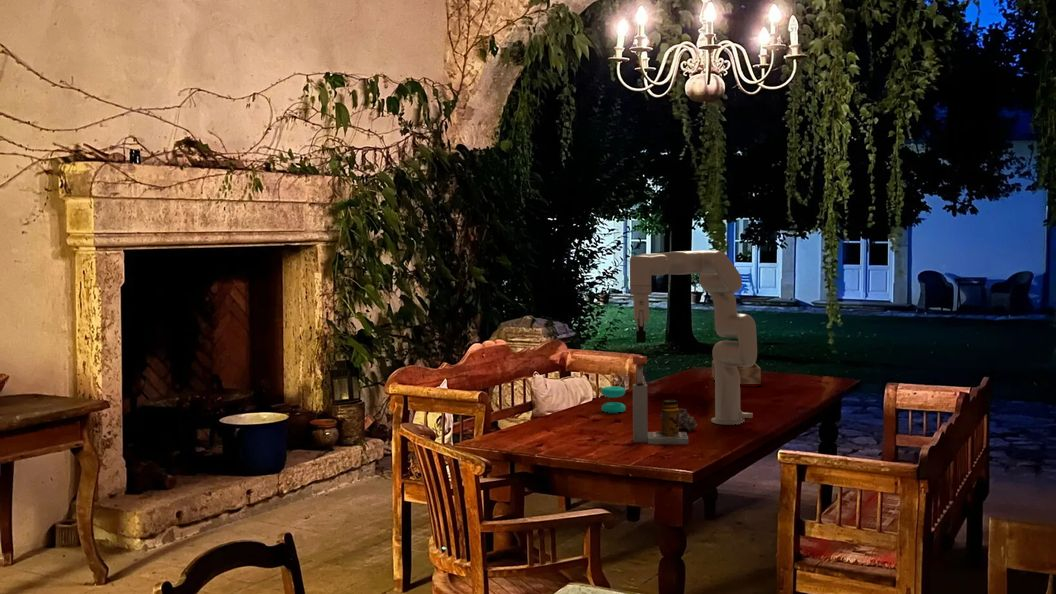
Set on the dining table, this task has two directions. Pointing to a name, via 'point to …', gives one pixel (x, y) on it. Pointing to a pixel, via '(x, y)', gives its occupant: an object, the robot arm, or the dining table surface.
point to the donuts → (613, 406)
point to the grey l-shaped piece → (642, 421)
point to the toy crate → (746, 374)
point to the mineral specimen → (685, 420)
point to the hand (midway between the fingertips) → (641, 342)
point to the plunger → (639, 368)
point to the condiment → (669, 419)
